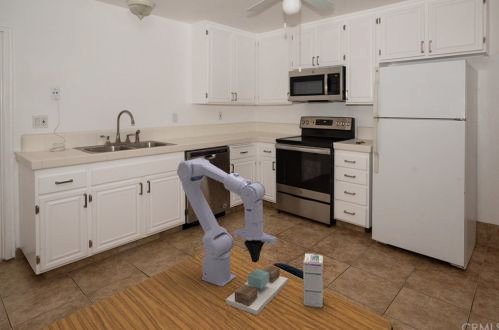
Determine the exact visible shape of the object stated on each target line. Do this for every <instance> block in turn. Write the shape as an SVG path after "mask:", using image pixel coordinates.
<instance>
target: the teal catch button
mask: <svg viewBox="0 0 499 330" xmlns="http://www.w3.org/2000/svg"><path fill="white" fill-rule="evenodd" d="M247 281H248V285H251V286H254V287H257V288H260V289H262V288H263V287H264V286H265V285H266V284H267V283H268V282H269V273H268V272H265V271H261V269H257V268H255V269H254V270H253V271H252V272H250V273H249V274H248V275H247Z"/></svg>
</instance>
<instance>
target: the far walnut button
mask: <svg viewBox="0 0 499 330" xmlns="http://www.w3.org/2000/svg"><path fill="white" fill-rule="evenodd" d="M260 270H261V271H265V272H268V273H269V282H271V283H273V282H274V281H275V280H276V279H277V278H278V277H279V276H281V275H280V272H281V271H280V270H281V269H280V267H278V266H274V265H270V264H266V265H265V266H264V265H263V267H262V268H261V269H260Z"/></svg>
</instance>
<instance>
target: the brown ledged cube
mask: <svg viewBox="0 0 499 330" xmlns="http://www.w3.org/2000/svg"><path fill="white" fill-rule="evenodd" d="M234 292H235V301H236V302H239V303H242V304H244V305H247V306H250V305H251V304H252V303H253V302H254V301H255V300H256V299H257V288H255V287H252V286H249V285H246V284H245V283H243V284H241V286H239V287H238V288H237V289H235V290H234Z"/></svg>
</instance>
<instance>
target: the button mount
mask: <svg viewBox="0 0 499 330" xmlns="http://www.w3.org/2000/svg"><path fill="white" fill-rule="evenodd" d="M288 283H289V278H287V277H284V276H281V275H280V276H279V277H278V278H277V279H276V280H275V281H274V282H273V283H271V282H268V283H267V284H266V285H265V286H264V287H263V288H262V289H260V288H257V287H255V288H257V299H256V300H255V301H254V302H253V303H252V304H251V305H250V306H247V305H244V304H242V303H239V302H236V301H235V291H234V292H233V293H231V294H230V295H229V296H228V297H227V298H226V299H225V304H226V305H228V306H230V307H234V308H236V309H239V310H242V311H244V312H246V313H249V314H253V315H255V316H258V315H259V313H261V311H262V310H263V309H264V308H265V307H266V306H267V305H268V304H269V303H270V302H271V301H272V300H273V299H274V298H275V297H276V296H277V295H278V294H279V293H280V291H281V290H283V289H284V287H285V286H286V285H287V284H288ZM244 284H246V285H248V280H247V281H246V282H245V283H244ZM249 286H251V285H249ZM252 287H254V286H252Z"/></svg>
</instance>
